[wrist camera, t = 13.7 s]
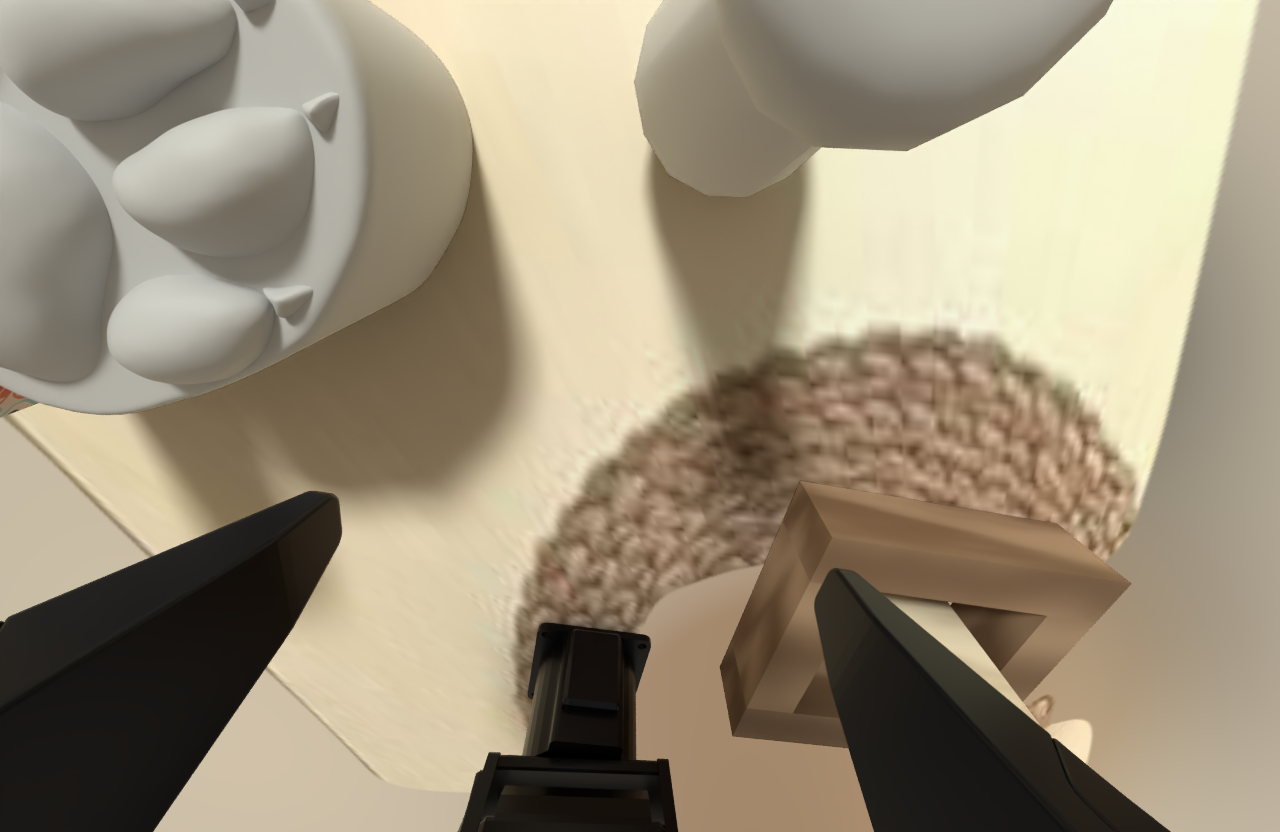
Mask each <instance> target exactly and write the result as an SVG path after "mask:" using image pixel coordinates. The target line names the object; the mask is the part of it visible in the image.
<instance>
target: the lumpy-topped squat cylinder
mask: <svg viewBox="0 0 1280 832" xmlns="http://www.w3.org/2000/svg"><path fill="white" fill-rule="evenodd" d="M472 162H473V142H472V132H471V125H470V120H469V116H468V113H467V109H466V106H465V104H464V101H463V98H462V96H461V94H460V91H459V89H458V87H457V85H456V83H455V81H454V80H453V78H452V76H451V75H450V73H449V71H448V70H447V68H446V67H445V65H444V64H443V63H442V61H441V60H440V59H439V58H438V56H437V55H436V54H435V53H434V52H433V51H432V50H431V48H430V47H429V46H428V45H427V44H426V43H425V42H424V41H422V40H421V39H420V38H419V37H418V36H417V35H416V34H415V33H413V32H412V31H411V30H410V29H409V28H407V27H406V26H405V25H403V24H402V23H401V22H399V21H398V20H397V19H395V18H394V17H392V16H391V15H389V14H388V13H387V12H385V11H384V10H382V9H381V8H379V7H378V6H376V5H375V4H373V3H372V2H371V1H369V0H0V386H2V387H4V388H6V389H8V390H10V391H12V392H14V393H16V394H18V395H20V396H23V397H25V398H28V399H31V400H33V401H36V402H38V403H41V404H45V405H49V406H53V407H57V408H61V409H65V410H70V411H74V412H80V413H88V414H97V415H122V414H128V413H137V412H141V411H145V410H149V409H152V408H157V407H161V406H164V405H167V404H170V403H174V402H177V401H180V400H184V399H188V398H192V397H196V396H200V395H203V394H206V393H208V392H211V391H214V390H216V389H219V388H222V387H224V386H227V385H229V384H232V383H234V382H236V381H239V380H241V379H243V378H245V377H248V376H250V375H252V374H254V373H257V372H259V371H261V370H263V369H265V368H267V367H269V366H271V365H273V364H275V363H277V362H279V361H281V360H283V359H285V358H287V357H289V356H291V355H293V354H295V353H297V352H299V351H301V350H303V349H305V348H307V347H309V346H310V345H312V344H314V343H316V342H318V341H320V340H322V339H324V338H326V337H328V336H330V335H332V334H334V333H336V332H338V331H340V330H342V329H344V328H345V327H347V326H349V325H351V324H353V323H355V322H357V321H359V320H361V319H363V318H365V317H367V316H369V315H371V314H373V313H375V312H377V311H379V310H381V309H382V308H384V307H386V306H388V305H390V304H392V303H394V302H396V301H398V300H400V299H402V298H403V297H405V296H407V295H408V294H410V293H411V292H413V291H414V290H416V289H417V288H418V287H419V286H421V285H422V284H423V283H424V282H425V281H426V279H427V278H428V277H429V276H430V274H431V273H432V271H433V270H434V268H435V267H436V265H437V264H438V262H439V261H440V259H441V258H442V256H443V254H444V253H445V251H446V249H447V247H448V246H449V244H450V242H451V240H452V238H453V237H454V235H455V233H456V231H457V228H458V226H459V224H460V222H461V219H462V217H463V214H464V211H465V208H466V204H467V200H468V195H469V189H470V182H471V174H472Z"/></svg>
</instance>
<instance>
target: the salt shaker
mask: <svg viewBox="0 0 1280 832" xmlns="http://www.w3.org/2000/svg"><path fill="white" fill-rule="evenodd" d="M1112 2H1113V0H663V1H662V3H661V4H660V6H659V7H658V9H657V11H656V12H655V14H654V15H653V17H652V18H651V20H650V21H649V23H648V24H647V26H646V31H645V35H644V40H643V44H642V49H641V54H640V58H639V63H638V67H637V72H636V77H635V81H634V84H635V90H636V95H637V100H638V106H639V111H640V117H641V122H642V127H643V133H644V136H645V137H646V139H647V140H648V142H649V144H650V145H651V147H652V148H653V150H654V152H655V153H656V155H657V157H658V158H659V160H660V161H661V163H662V165H663V166H664V168H665V170H666V171H667V173H668V174H669V175H670V176H672V177H673V178H675V179H677V180H679V181H681V182H683V183H684V184H686V185H688V186H690V187H692V188H693V189H695V190H697V191H699V192H701V193H702V194H704V195H708V196H726V197H745V198H747V197H749V196H751V195H753V194H755V193H757V192H759V191H761V190H763V189H765V188H767V187H769V186H771V185H773V184H775V183H777V182H779V181H781V180H783V179H785V178H787V177H788V176H789V175H791V174H792V173H793V172H794V171H795V170H796V169H797V168H798V167H800V166H801V165H802V164H803V163H804V162H805V161H806V160H808V159H809V158H810V157H811V156H812V155H813V154H814V153H816V152H817V151H818V150H819V149H820V148H821V147H825V148H847V149H869V150H893V151H908V150H910V149H913V148H915V147H917V146H919V145H921V144H923V143H925V142H927V141H930V140H932V139H934V138H936V137H938V136H940V135H942V134H944V133H946V132H948V131H951V130H953V129H955V128H957V127H959V126H961V125H963V124H965V123H967V122H969V121H971V120H973V119H976V118H978V117H980V116H982V115H984V114H986V113H988V112H990V111H992V110H994V109H996V108H998V107H1001V106H1003V105H1005V104H1007V103H1009V102H1011V101H1013V100H1015V99H1017V98H1019V97H1021V96H1023V95H1024V94H1025V93H1026V92H1027V91H1028V90H1030V89H1031V88H1032V87H1033V86H1034V85H1035V84H1036V83H1037V82H1038V81H1039V80H1040V79H1041V78H1042V77H1043V76H1044V75H1045V74H1046V73H1047V72H1048V71H1049V70H1050V69H1051V68H1052V67H1053V66H1054V65H1055V64H1056V63H1057V62H1058V61H1059V60H1060V59H1061V58H1062V57H1063V56H1064V55H1065V54H1066V53H1067V52H1068V51H1069V50H1070V49H1071V48H1072V47H1073V46H1074V45H1075V44H1076V43H1077V42H1078V41H1079V40H1080V39H1081V38H1082V37H1083V36H1084V35H1085V34H1086V33H1087V32H1088V31H1089V30H1090V29H1091V28H1092V27H1093V26H1095V25H1096V24H1097V23H1098V22H1099V21H1100V20H1101V19H1102V18H1103V17H1104V16H1105V15H1106V13H1107V11H1108V9H1109V7H1110V5H1111V3H1112Z"/></svg>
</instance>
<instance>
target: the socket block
mask: <svg viewBox="0 0 1280 832" xmlns="http://www.w3.org/2000/svg"><path fill="white" fill-rule="evenodd" d="M832 568H842V569H848V570H853V571H855V572H856V573H858V574H859V575H860V576H861V577H863V578H864V579H865V580H866V581H867V582H869V583H870V584H871V585H872V586H873V587H875V588H876V589H877V590H878V591H879V592H884V593H891V594H898V595H905V596H912V597H919V598H926V599H933V600H940V601H947V602H953V603H952V604H951V607H952V609H953V610H954V611H955V613H956V614H957V615H958V617H959V618H960V619H961V621H962V622H963V623H964V625H965V626H966V627H967V629H968V630H969V631H970V633H971V634H972V635H973V637H974V638H975V639H976V641H977V642H978V643H979V645H980V646H981V647H982V649H983V650H984V651H985V653H986V654H987V655H988V657H989V658H990V659H991V661H992V662H993V663H994V665H995V666H996V667H997V669H998V670H999V671H1000V673H1001V674H1002V675H1003V677H1004V678H1005V679H1006V681H1007V682H1008V683H1009V685H1010V686H1011V687H1012V689H1013V690H1014V691H1015V693H1016V694H1017V695H1018V697H1019V698H1020V699H1021V701H1022V702H1023V701H1024V700H1025V699H1026V697H1028V695H1029V694H1030V693H1031V692H1032V691H1033V690H1034V689H1035V688H1036V687H1037V686H1038V685H1039V684H1040V682H1041V681H1042V680H1043V679H1044V678H1045V677H1046V676H1047V675H1048V674H1049V673H1050V672H1051V671H1052V669H1053V668H1054V667H1055V666H1056V665H1057V664H1058V663H1059V662H1060V661H1061V660H1062V658H1064V656H1065V655H1066V654H1067V653H1068V652H1069V651H1070V650H1071V649H1072V648H1073V647H1074V646H1075V644H1076V643H1077V642H1078V641H1079V640H1080V639H1081V638H1082V637H1083V636H1084V635H1085V634H1086V633H1087V632H1088V630H1089V629H1090V628H1091V627H1092V626H1093V625H1094V624H1095V623H1096V622H1097V621H1098V620H1099V618H1100V617H1101V616H1102V615H1103V614H1104V613H1105V612H1106V611H1107V610H1108V609H1109V608H1110V607H1111V605H1112V604H1113V603H1114V602H1115V601H1116V600H1117V599H1118V598H1119V597H1120V596H1121V595H1122V593H1124V591H1125V590H1126V589H1127V588H1128V587H1129V586H1130V585H1131V583H1130V582H1129V581H1128V580H1126V579H1125V578H1124V577H1123V576H1121V575H1120V574H1119V573H1118V572H1116V571H1115V570H1114V569H1113V568H1111V567H1110V566H1109V565H1108V564H1106V563H1105V562H1104V561H1103V560H1102V559H1100V558H1099V557H1098V556H1097V555H1095V554H1094V553H1093V552H1092V551H1090V550H1089V549H1088V548H1087V547H1085V546H1084V545H1083V544H1082V543H1080V542H1079V541H1078V540H1077V539H1075V538H1074V537H1073V536H1072V535H1070V534H1069V533H1068V532H1067V531H1065V530H1064V529H1063V528H1062V527H1060V526H1059V525H1058V524H1056V523H1050V522H1044V521H1038V520H1032V519H1026V518H1020V517H1014V516H1008V515H1002V514H996V513H990V512H984V511H978V510H972V509H966V508H960V507H954V506H948V505H942V504H936V503H930V502H924V501H918V500H912V499H906V498H900V497H894V496H888V495H882V494H876V493H870V492H864V491H858V490H852V489H846V488H840V487H834V486H828V485H822V484H816V483H810V482H804V481H800V482H799V485H798V487H797V489H796V492H795V494H794V496H793V499H792V501H791V503H790V506H789V508H788V510H787V513H786V515H785V517H784V519H783V522H782V524H781V526H780V529H779V531H778V533H777V536H776V538H775V540H774V543H773V545H772V547H771V550H770V552H769V554H768V557H767V559H766V561H765V563H764V566H763V568H762V570H761V573H760V575H759V578H758V580H757V582H756V584H755V587H754V589H753V591H752V594H751V596H750V598H749V601H748V603H747V605H746V608H745V610H744V612H743V614H742V617H741V619H740V622H739V624H738V626H737V629H736V631H735V633H734V635H733V638H732V640H731V642H730V645H729V647H728V649H727V652H726V654H725V656H724V658H723V661H722V663H721V665H720V670H721V676H722V681H723V687H724V692H725V698H726V703H727V709H728V714H729V719H730V725H731V730H732V735H733V736H736V737H745V738H755V739H765V740H775V741H785V742H794V743H803V744H813V745H823V746H832V747H843V748H848V745H847V742H846V738H845V735H844V732H843V729H842V725H841V722H840V719H839V716H838V712H837V709H836V706H835V702H834V699H833V695H832V692H831V688H830V684H829V679H828V675H827V670H826V665H825V660H824V655H823V650H822V646H821V641H820V636H819V631H818V626H817V621H816V616H815V611H814V601H815V597H816V595H817V593H818V591H819V589H820V587H821V585H822V583H823V581H824V579H825V577H826V575H827V574H828V572H829V571H830V570H831V569H832Z"/></svg>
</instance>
